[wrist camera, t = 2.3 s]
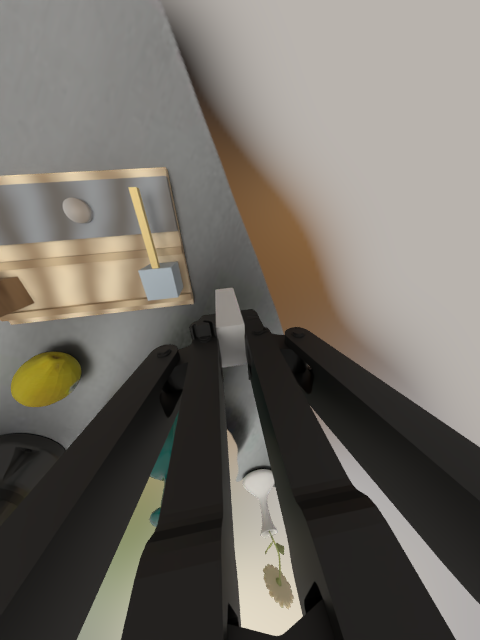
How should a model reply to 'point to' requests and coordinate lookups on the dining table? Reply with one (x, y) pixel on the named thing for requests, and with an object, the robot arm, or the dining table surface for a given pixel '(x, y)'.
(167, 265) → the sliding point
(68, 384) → the lemon
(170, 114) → the dining table surface
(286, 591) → the flower in vase
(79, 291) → the gauge board
